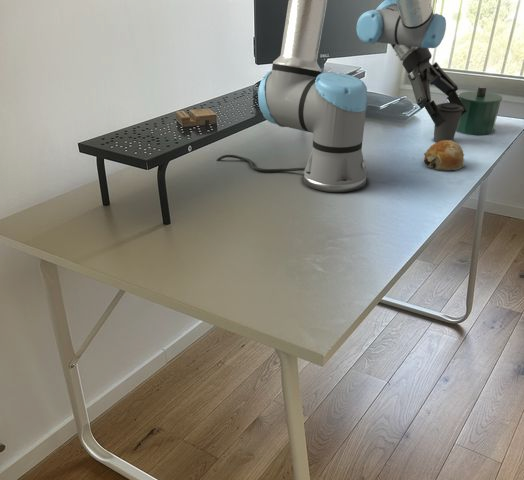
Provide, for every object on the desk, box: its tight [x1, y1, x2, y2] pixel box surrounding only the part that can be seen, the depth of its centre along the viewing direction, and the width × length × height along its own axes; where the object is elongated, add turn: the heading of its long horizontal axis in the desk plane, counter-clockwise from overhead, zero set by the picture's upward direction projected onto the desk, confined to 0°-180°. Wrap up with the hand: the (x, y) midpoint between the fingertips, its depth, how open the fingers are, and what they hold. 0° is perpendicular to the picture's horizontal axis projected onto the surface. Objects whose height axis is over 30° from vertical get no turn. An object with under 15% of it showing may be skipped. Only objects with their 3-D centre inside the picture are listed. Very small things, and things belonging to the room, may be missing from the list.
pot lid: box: [458, 85, 503, 103], centre depth 164 cm, size 12×12×4 cm
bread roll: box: [423, 140, 465, 172], centre depth 144 cm, size 10×10×8 cm
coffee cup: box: [433, 102, 464, 143], centre depth 158 cm, size 8×8×10 cm
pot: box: [456, 99, 501, 136], centre depth 167 cm, size 11×11×9 cm
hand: (452, 119), depth 156 cm, fingers open, 13 cm apart
